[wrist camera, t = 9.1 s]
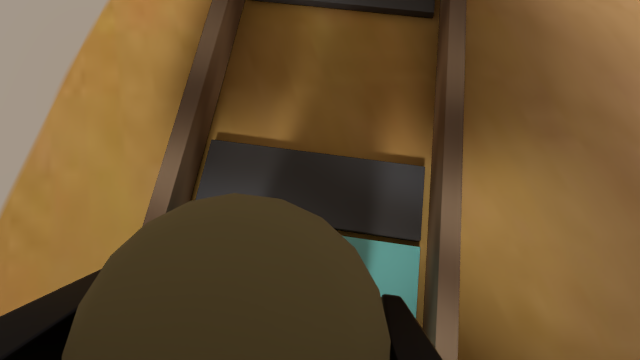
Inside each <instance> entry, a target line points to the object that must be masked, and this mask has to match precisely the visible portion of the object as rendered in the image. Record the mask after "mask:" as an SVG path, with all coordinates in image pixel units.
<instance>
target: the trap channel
mask: <svg viewBox="0 0 640 360" xmlns="http://www.w3.org/2000/svg"><path fill="white" fill-rule="evenodd" d="M256 1H266V2H276V3H286V4H296V5H306V6H317V7H327V8H337V9H347V10H357V11H367V12H377V13H387V14H397V15H407V16H417V17H427V18H432V17H433V14H434V6H435V0H256ZM244 2H245V0H212V3H211V6H210V10H209V13H208V16H207V19H206V22H205V26H204V29H203V32H202V35H201V39H200V42H199V45H198V48H197V52H196V55H195V58H194V61H193V65H192V68H191V71H190V74H189V77H188V81H187V84H186V87H185V90H184V94H183V97H182V100H181V103H180V107H179V110H178V113H177V116H176V120H175V123H174V126H173V129H172V132H171V136H170V139H169V142H168V145H167V149H166V152H165V155H164V158H163V162H162V165H161V168H160V171H159V175H158V178H157V181H156V184H155V187H154V191H153V194H152V197H151V200H150V204H149V207H148V210H147V213H146V217H145V220H144V223H143V226H144V225H145V224H146V223H147V222H149V221H151V220H153V219H155V218H157V217H159V216H161V215H163V214H165V213H167V212H169V211H171V210H173V209H175V208H177V207H179V206H181V205H183V204H185V203H187V202H189V201H190V200H191V196H192V193H193V189H194V185H195V182H196V178H197V174H198V171H199V167H200V163H201V160H202V156H203V152H204V149H205V145H206V141H207V138H208V134H209V130H210V127H211V123H212V119H213V116H214V112H215V108H216V105H217V101H218V97H219V94H220V90H221V86H222V83H223V79H224V75H225V72H226V68H227V64H228V61H229V57H230V53H231V50H232V46H233V42H234V39H235V35H236V31H237V28H238V24H239V20H240V17H241V13H242V9H243V6H244ZM465 38H466V0H440V15H439V34H438V53H437V72H436V90H435V109H434V128H433V146H432V165H431V184H430V203H429V221H428V240H427V259H426V277H425V296H424V315H423V330H424V332H425V333H426V335H427V337H428V338H429V340H430V341H431V343H432V344H433V346H434V347H435V349H436V350H437V352H438V353H439V355H440V356H441V358H442V359H443V360H458V327H459V286H460V244H461V203H462V162H463V120H464V79H465ZM424 174H425V167H423V166H415V165H407V164H400V163H392V162H384V161H376V160H368V159H361V158H353V157H345V156H337V155H329V154H321V153H314V152H306V151H298V150H290V149H282V148H274V147H267V146H259V145H251V144H243V143H235V142H228V141H220V140H211V144H210V147H209V151H208V155H207V159H206V162H205V166H204V170H203V173H202V177H201V181H200V185H199V188H198V192H197V196H196V200H198V199H204V198H209V197H215V196H220V195H226V194H231V193H238V194H246V195H254V196H262V197H270V198H278V199H282V200H285V201H287V202H289V203H292V204H294V205H296V206H298V207H300V208H302V209H304V210H307V211H309V212H311V213H313V214H315V215H317V216H320V217H322V218H323V219H324V220H325V221H327V222H328V223H329V224H330V225H331V226H332V227H333V228H334V229H335V230H340V231H347V232H354V233H361V234H368V235H375V236H383V237H390V238H397V239H404V240H411V241H418V242H419V241H420V240H421V224H422V207H423V190H424ZM143 226H142V227H143Z"/></svg>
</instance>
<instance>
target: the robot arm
mask: <svg viewBox="0 0 640 360" xmlns="http://www.w3.org/2000/svg"><path fill="white" fill-rule="evenodd" d="M101 270H102V269H100V270H98V271H96V272H94V273H92V274H90V275H88V276H86V277H83V278H81V279H79V280H77V281H75V282H73V283H71V284H68V285H66V286H64V287H62V288H60V289H58V290H56V291H54V292H51V293H49V294H47V295H45V296H43V297H41V298H39V299H37V300H34V301H32V302H30V303H28V304H26V305H24V306H22V307H19V308H17V309H15V310H13V311H11V312H9V313H7V314H5V315H2V316H0V360H62V354H63V351H64V348H65V345H66V342H67V339H68V335H69V332H70V329H71V326H72V323H73V320H74V317H75V314H76V311H77V308H78V305H79V303H80V302H81V300H82V299H83V297H84V296H85V294H86V293H87V291H88V290H89V288H90V286H91V285H92V283H93V282H94V280H95V279H96V277H97V276H98V274H99V273H100V271H101ZM381 300H382V304H383V309H384V313H385V317H386V322H387V326H388V331H389V335H390V339H391V344H390V359H389V360H443V359H442V358H441V356H440V355H439V353H438V352H437V350H436V349H435V347H434V346H433V344H432V343H431V341H430V340H429V338H428V337H427V335H426V333H425V332H424V330H423V329H422V327H421V326H420V324H419V323H418V321H417V320H416V318H415V317H414V315H413V314H412V312H411V311H410V309H409V308H408V306H407V305H406V303H405V302H404V300H403V299H402V298H401V297H400V296H397V295H390V294H383V295H382V297H381Z"/></svg>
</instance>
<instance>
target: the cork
mask: <svg viewBox="0 0 640 360" xmlns="http://www.w3.org/2000/svg"><path fill="white" fill-rule="evenodd" d="M390 344H391V339H390V335H389V331H388V326H387V322H386V317H385V313H384V309H383V304H382V300H381V295H380V291H379V289H378V287H377V285H376V283H375V282H374V280H373V278H372V276H371V275H370V273H369V271H368V269H367V268H366V266H365V264H364V262H363V261H362V259H361V257H360V255H359V254H358V252H357V250H356V248H355V247H353V246H352V245H351V244H350V243H349V242H348V241H347V240H346V239H345V238H344V237H343V236H342V235H341V234H339V233H338V232H337V231H336V230H335V229H334V228H333V227H332V226H331V225H330V224H329V223H328V222H327V221H325V220H324V219H323V218H322V217H320V216H317V215H315V214H313V213H311V212H309V211H307V210H304V209H302V208H300V207H298V206H296V205H294V204H292V203H289V202H287V201H285V200H282V199H278V198H270V197H262V196H254V195H246V194H238V193H231V194H226V195H220V196H215V197H209V198H204V199H198V200H193V201H189V202H187V203H185V204H183V205H181V206H179V207H177V208H175V209H173V210H171V211H169V212H167V213H165V214H163V215H161V216H159V217H157V218H155V219H153V220H151V221H149V222H147V223H146V224H145V225H144V226H143V227H142V228H141V229H140V230H139V231H137V232H136V233H135V234H134V235H133V236H132V237H131V238H130V239H129V240H127V241H126V242H125V243H124V244H123V245H122V246H121V247H120V248H119V249H117V250H116V251H115V252H114V253H113V254H112V255H111V256H110V258H109V259H108V260H107V262H106V263H105V265H104V266H103V268H102V270H101V271H100V273H99V274H98V276H97V277H96V279H95V280H94V282H93V283H92V285H91V286H90V288H89V290H88V291H87V293H86V294H85V296H84V297H83V299H82V300H81V302H80V303H79V305H78V308H77V311H76V314H75V317H74V320H73V323H72V326H71V329H70V332H69V335H68V339H67V342H66V345H65V348H64V351H63V354H62V360H389V359H390Z"/></svg>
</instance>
